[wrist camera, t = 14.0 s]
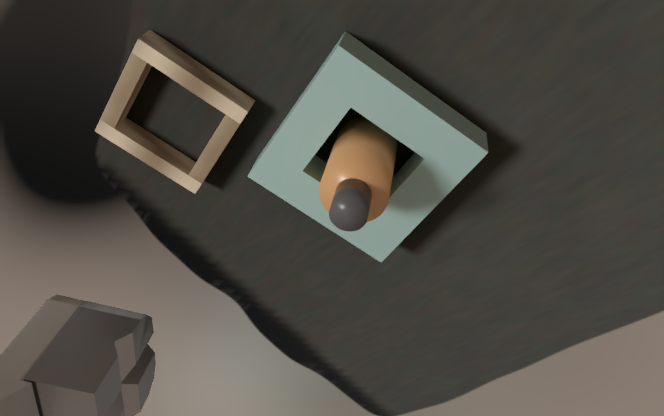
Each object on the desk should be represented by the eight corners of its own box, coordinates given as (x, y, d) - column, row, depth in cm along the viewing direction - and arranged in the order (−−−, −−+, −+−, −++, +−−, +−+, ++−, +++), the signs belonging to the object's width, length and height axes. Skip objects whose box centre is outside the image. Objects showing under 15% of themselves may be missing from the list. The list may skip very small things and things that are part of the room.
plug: (324, 149, 46) (297, 219, 38) (358, 104, 44) (338, 169, 36) (373, 182, 47) (357, 257, 39) (410, 140, 45) (400, 211, 37)
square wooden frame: (106, 120, 48) (94, 131, 46) (150, 29, 43) (138, 38, 42) (203, 181, 50) (194, 194, 48) (255, 100, 45) (248, 111, 43)
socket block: (258, 157, 48) (247, 176, 45) (345, 31, 41) (338, 45, 39) (384, 240, 50) (381, 262, 47) (486, 133, 43) (488, 152, 41)
